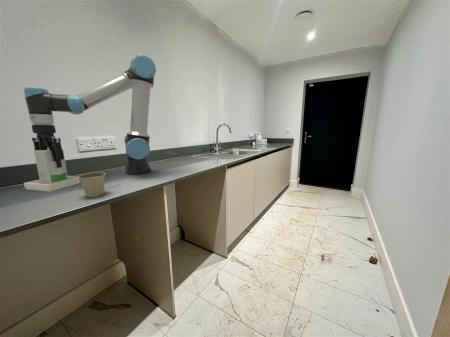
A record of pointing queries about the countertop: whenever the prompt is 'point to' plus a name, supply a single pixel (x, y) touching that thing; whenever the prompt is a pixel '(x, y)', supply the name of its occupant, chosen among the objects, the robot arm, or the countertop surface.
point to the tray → (51, 187)
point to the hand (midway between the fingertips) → (53, 173)
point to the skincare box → (49, 168)
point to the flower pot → (93, 183)
